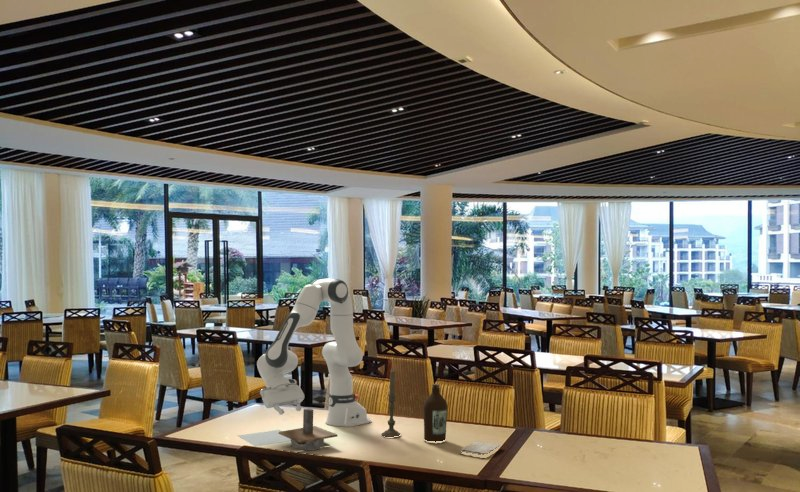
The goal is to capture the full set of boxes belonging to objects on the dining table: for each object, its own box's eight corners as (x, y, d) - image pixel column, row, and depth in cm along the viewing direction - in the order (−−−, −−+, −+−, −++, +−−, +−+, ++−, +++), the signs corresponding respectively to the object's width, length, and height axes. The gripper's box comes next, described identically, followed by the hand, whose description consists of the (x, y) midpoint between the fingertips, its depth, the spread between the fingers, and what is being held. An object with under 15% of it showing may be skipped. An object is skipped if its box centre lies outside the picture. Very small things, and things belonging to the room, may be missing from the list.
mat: (279, 431, 303) (279, 429, 303) (298, 441, 287) (298, 439, 287) (237, 436, 292) (237, 435, 292) (255, 447, 275) (255, 446, 275)
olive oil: (418, 439, 293) (419, 383, 294) (439, 437, 298) (440, 381, 299) (430, 445, 284) (431, 387, 284) (451, 443, 288) (452, 385, 289)
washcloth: (458, 455, 271) (458, 448, 272) (476, 446, 287) (476, 438, 287) (485, 460, 265) (485, 453, 265) (502, 450, 281) (502, 443, 281)
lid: (314, 427, 292) (315, 403, 292) (337, 436, 278) (338, 410, 278) (278, 433, 280) (279, 408, 281) (300, 443, 267) (300, 416, 267)
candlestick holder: (402, 433, 303) (403, 368, 304) (400, 438, 294) (401, 371, 295) (382, 432, 304) (383, 367, 305) (379, 437, 295) (381, 370, 296)
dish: (321, 452, 272) (321, 439, 272) (287, 451, 272) (288, 439, 272) (325, 442, 286) (326, 430, 286) (293, 441, 286) (294, 430, 287)
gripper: (261, 384, 285) (275, 411, 279) (298, 379, 301) (312, 404, 294) (255, 393, 288) (268, 420, 281) (292, 387, 303) (305, 412, 297)
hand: (291, 412), depth 288 cm, fingers open, 8 cm apart
